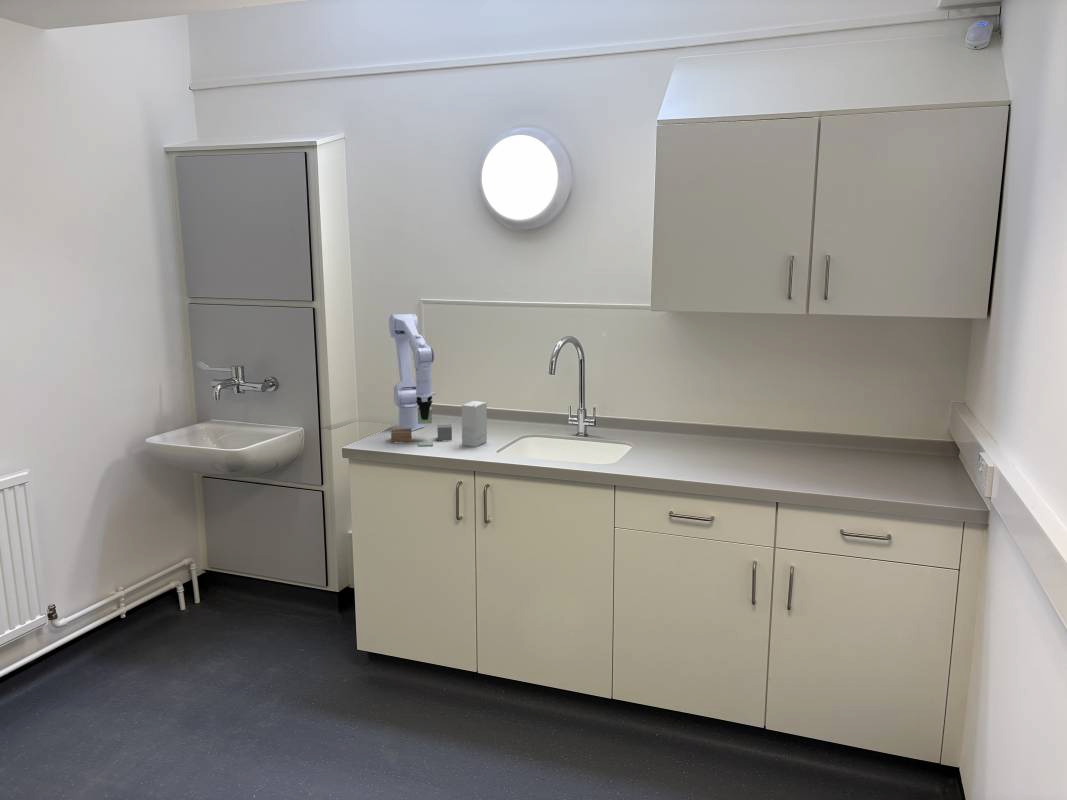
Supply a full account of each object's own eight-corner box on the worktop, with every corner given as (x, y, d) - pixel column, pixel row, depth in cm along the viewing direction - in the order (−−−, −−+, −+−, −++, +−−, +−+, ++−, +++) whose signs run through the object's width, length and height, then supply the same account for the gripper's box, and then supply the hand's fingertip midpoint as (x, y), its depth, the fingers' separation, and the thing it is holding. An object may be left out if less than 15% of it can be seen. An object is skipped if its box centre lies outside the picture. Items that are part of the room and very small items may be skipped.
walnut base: (392, 439, 284) (391, 428, 283) (411, 438, 285) (411, 428, 284) (391, 443, 277) (391, 432, 276) (411, 443, 278) (411, 432, 277)
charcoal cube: (437, 438, 285) (437, 424, 284) (451, 437, 286) (451, 424, 285) (437, 441, 280) (437, 427, 279) (451, 440, 281) (451, 427, 280)
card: (418, 443, 277) (418, 441, 277) (432, 442, 278) (432, 441, 278) (418, 446, 272) (418, 445, 272) (433, 446, 273) (432, 444, 273)
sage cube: (417, 420, 283) (417, 407, 282) (431, 420, 284) (431, 407, 283) (417, 423, 278) (417, 410, 277) (432, 423, 279) (431, 409, 278)
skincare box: (473, 440, 281) (472, 400, 278) (487, 442, 278) (487, 401, 276) (461, 445, 274) (460, 404, 271) (475, 447, 271) (475, 405, 268)
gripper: (435, 383, 272) (436, 421, 274) (434, 377, 286) (435, 413, 288) (415, 384, 271) (416, 422, 273) (415, 377, 285) (416, 414, 287)
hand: (424, 417), depth 281 cm, fingers closed on sage cube, 5 cm apart
